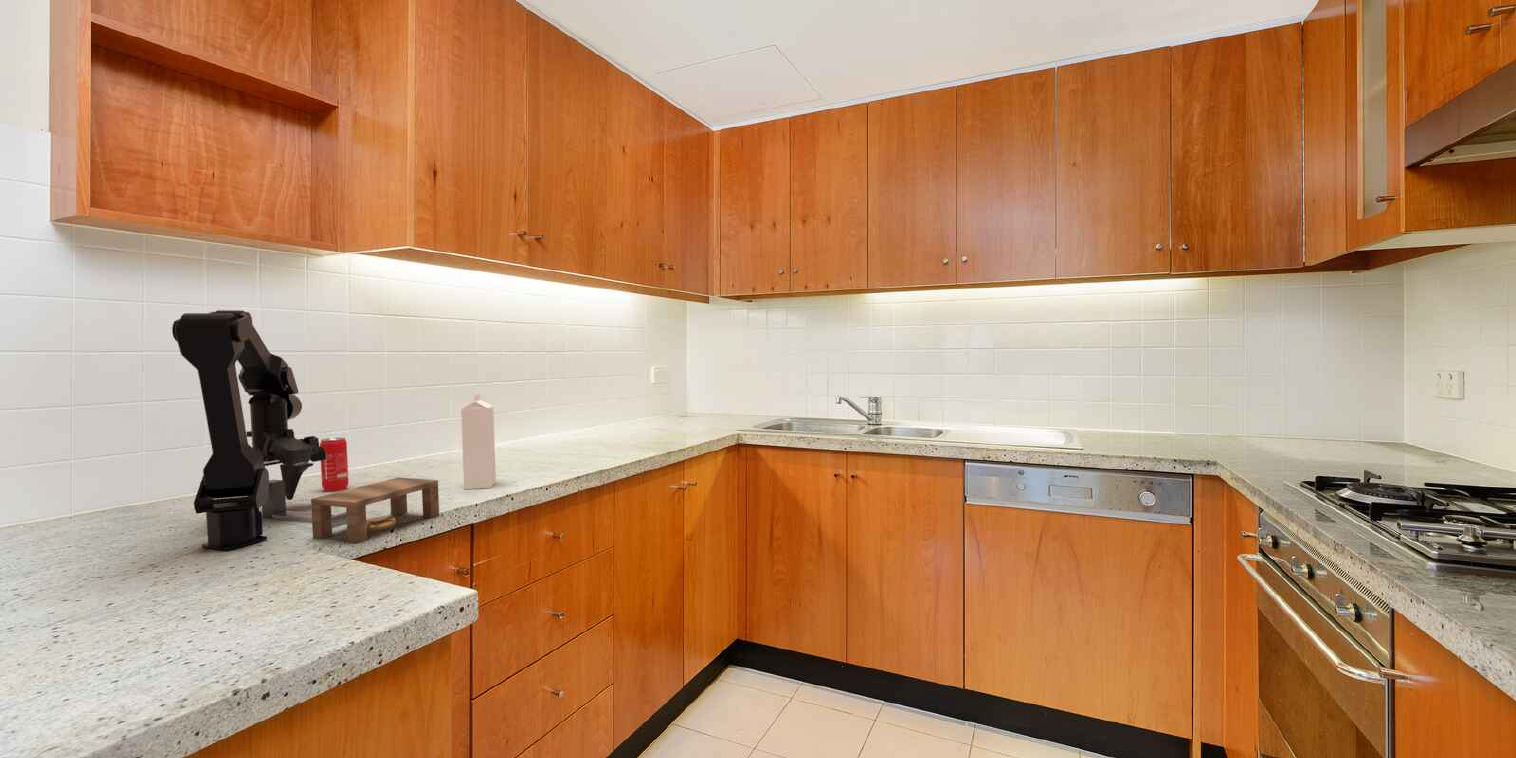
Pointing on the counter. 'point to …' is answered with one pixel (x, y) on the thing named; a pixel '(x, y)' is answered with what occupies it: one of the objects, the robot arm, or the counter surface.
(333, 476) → the beverage can
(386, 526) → the brass token
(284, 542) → the counter surface
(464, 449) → the milk
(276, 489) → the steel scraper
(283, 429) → the robot arm
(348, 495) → the walnut bench
